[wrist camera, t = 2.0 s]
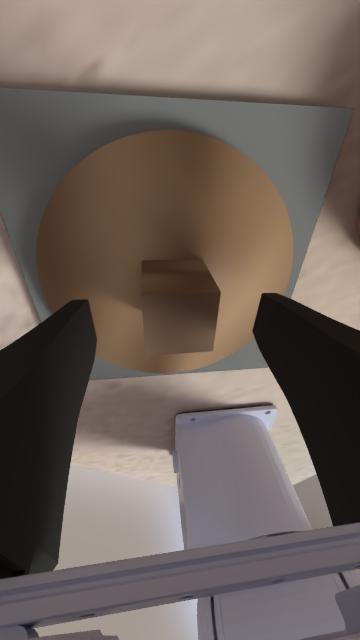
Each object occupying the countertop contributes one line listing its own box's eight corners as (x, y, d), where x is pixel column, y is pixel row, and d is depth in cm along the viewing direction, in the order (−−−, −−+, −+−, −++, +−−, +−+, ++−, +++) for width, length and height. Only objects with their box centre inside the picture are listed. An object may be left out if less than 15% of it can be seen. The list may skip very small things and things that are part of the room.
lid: (75, 371, 16) (56, 431, 13) (-5, 124, 9) (-104, 104, 5) (258, 358, 18) (286, 408, 14) (321, 137, 10) (413, 128, 7)
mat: (65, 375, 17) (63, 382, 17) (-37, 88, 9) (-48, 84, 8) (264, 361, 19) (267, 367, 18) (344, 110, 10) (354, 108, 10)
